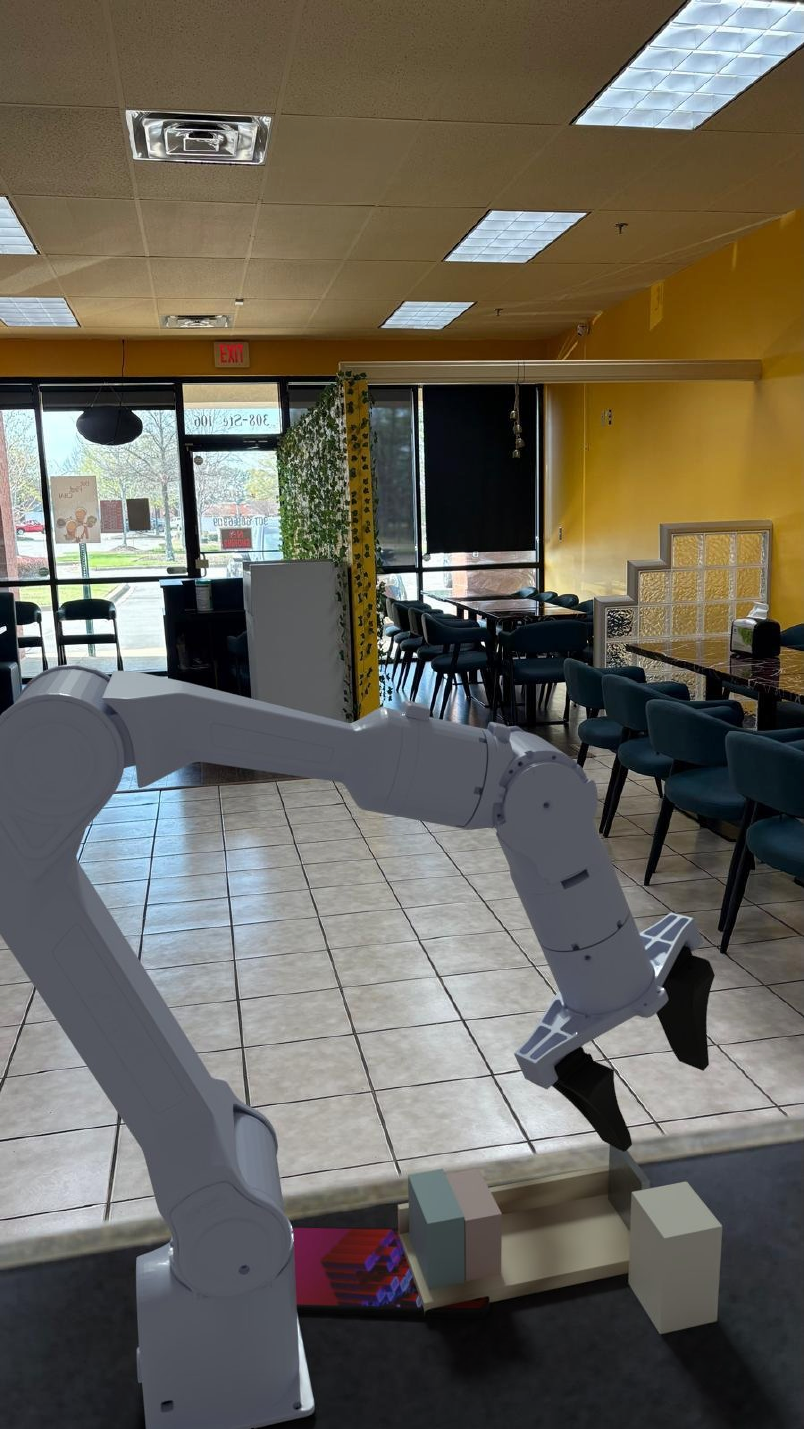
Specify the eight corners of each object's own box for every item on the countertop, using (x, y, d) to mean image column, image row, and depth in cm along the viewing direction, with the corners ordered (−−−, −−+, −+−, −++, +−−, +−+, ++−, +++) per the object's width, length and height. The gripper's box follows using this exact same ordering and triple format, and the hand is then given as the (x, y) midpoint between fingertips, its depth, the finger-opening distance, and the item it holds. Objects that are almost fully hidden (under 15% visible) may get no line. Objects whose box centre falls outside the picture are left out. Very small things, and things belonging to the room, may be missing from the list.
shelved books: (428, 1290, 67) (427, 1223, 66) (409, 1237, 72) (408, 1174, 70) (501, 1274, 68) (502, 1209, 67) (478, 1224, 73) (478, 1162, 72)
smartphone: (280, 1224, 74) (487, 1227, 73) (280, 1234, 74) (487, 1238, 73) (259, 1307, 66) (489, 1312, 65) (260, 1318, 67) (490, 1324, 66)
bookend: (639, 1246, 70) (641, 1182, 69) (608, 1198, 75) (609, 1138, 74) (647, 1244, 70) (650, 1180, 69) (615, 1197, 75) (617, 1137, 74)
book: (660, 1334, 64) (664, 1238, 63) (628, 1283, 68) (631, 1191, 67) (716, 1321, 65) (722, 1226, 64) (682, 1271, 69) (686, 1181, 68)
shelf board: (424, 1316, 66) (423, 1276, 65) (398, 1241, 73) (397, 1204, 72) (676, 1262, 70) (678, 1224, 70) (630, 1196, 77) (631, 1161, 76)
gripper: (542, 1015, 53) (627, 1209, 57) (711, 865, 60) (777, 1048, 64) (463, 982, 59) (545, 1160, 63) (624, 849, 66) (690, 1017, 70)
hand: (656, 1101), depth 64 cm, fingers open, 7 cm apart
